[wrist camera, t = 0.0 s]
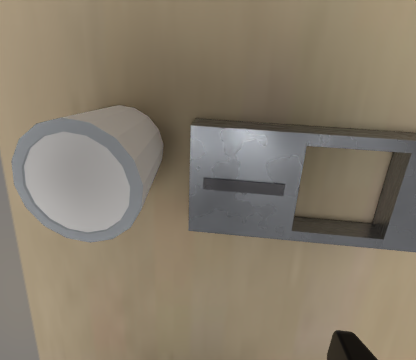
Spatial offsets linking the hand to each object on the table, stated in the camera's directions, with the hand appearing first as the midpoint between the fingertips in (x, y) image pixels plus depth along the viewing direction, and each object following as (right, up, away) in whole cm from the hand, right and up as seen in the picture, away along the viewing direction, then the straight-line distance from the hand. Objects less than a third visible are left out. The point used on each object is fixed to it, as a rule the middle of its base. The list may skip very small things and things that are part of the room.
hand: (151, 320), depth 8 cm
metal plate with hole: (+8, +4, +14) cm, 16 cm away
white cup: (-4, +6, +14) cm, 16 cm away
